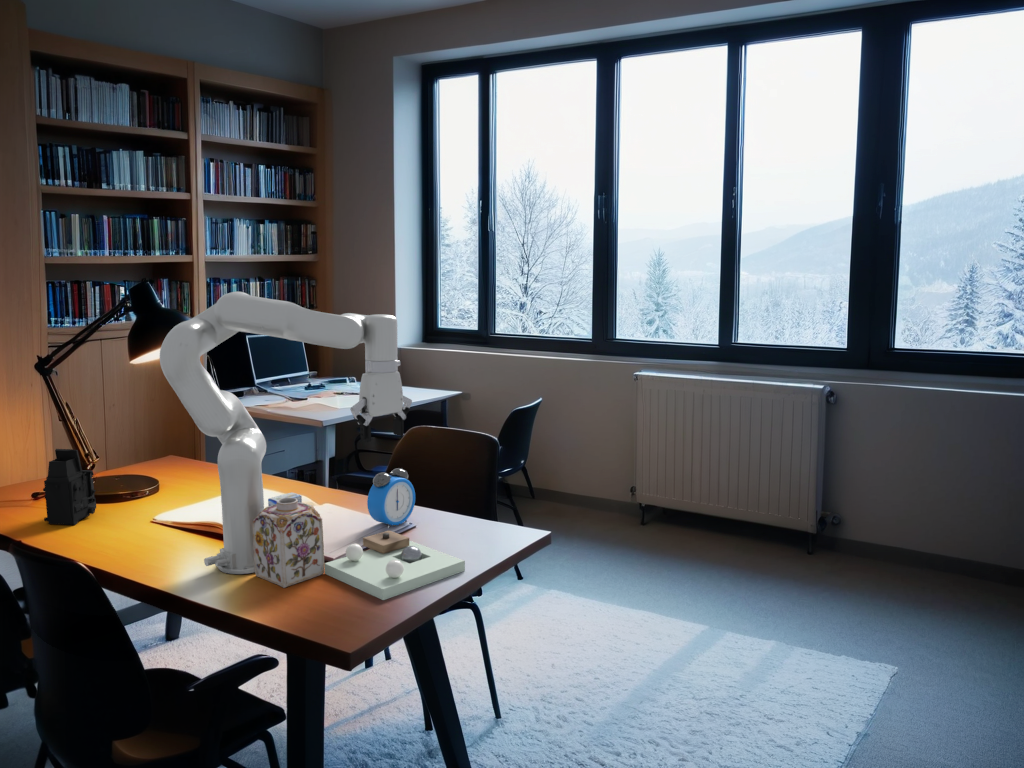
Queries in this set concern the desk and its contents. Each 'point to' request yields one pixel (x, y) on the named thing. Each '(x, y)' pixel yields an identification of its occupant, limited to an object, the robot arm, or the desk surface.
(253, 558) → the robot arm
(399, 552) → the board
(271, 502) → the medicine box
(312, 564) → the decorative jar
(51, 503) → the camera
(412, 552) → the ball
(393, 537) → the lid
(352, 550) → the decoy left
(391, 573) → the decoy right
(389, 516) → the alarm clock
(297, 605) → the desk surface
